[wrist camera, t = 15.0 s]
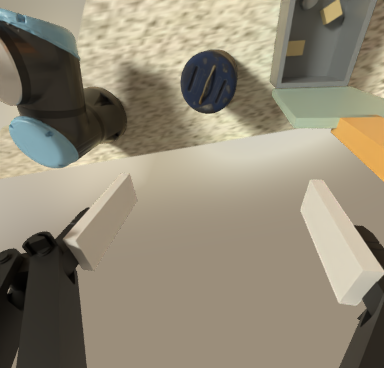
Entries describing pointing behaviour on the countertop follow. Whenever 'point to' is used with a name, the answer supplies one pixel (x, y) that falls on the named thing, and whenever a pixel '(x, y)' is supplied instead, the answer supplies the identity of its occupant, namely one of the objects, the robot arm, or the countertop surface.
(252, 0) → the countertop surface
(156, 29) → the countertop surface
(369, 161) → the lid
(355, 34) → the tub
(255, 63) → the countertop surface
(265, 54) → the countertop surface
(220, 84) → the canister
